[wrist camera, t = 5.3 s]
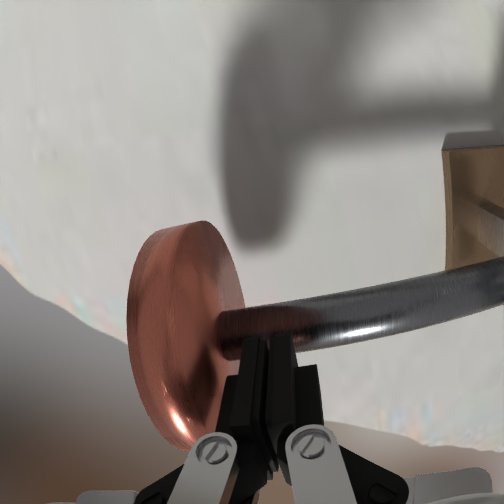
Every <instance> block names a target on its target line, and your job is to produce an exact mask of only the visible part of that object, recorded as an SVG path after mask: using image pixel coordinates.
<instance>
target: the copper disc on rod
mask: <svg viewBox="0 0 504 504" xmlns="http://www.w3.org/2000/svg"><path fill="white" fill-rule="evenodd" d="M503 304H504V256H503V257H499V258H495V259H491V260H487V261H483V262H479V263H475V264H471V265H467V266H463V267H458V268H454V269H450V270H446V271H441V272H437V273H432V274H428V275H423V276H419V277H414V278H410V279H405V280H400V281H395V282H391V283H386V284H381V285H376V286H371V287H365V288H360V289H355V290H350V291H344V292H339V293H333V294H328V295H322V296H317V297H311V298H305V299H299V300H293V301H287V302H281V303H274V304H268V305H261V306H255V307H248V308H245V303H244V298H243V294H242V290H241V286H240V282H239V278H238V275H237V271H236V268H235V265H234V262H233V260H232V257H231V254H230V252H229V250H228V247H227V245H226V243H225V241H224V239H223V238H222V236H221V234H220V233H219V231H218V230H217V229H216V228H215V227H214V226H213V225H212V224H211V223H209V222H207V221H197V222H193V223H188V224H184V225H179V226H174V227H170V228H165V229H161V230H159V231H156V232H155V233H153V234H152V235H151V236H150V237H149V238H148V239H147V240H146V241H145V243H144V244H143V246H142V248H141V249H140V251H139V253H138V256H137V258H136V261H135V264H134V267H133V271H132V275H131V279H130V284H129V291H128V299H127V340H128V347H129V355H130V361H131V366H132V370H133V375H134V379H135V382H136V385H137V389H138V392H139V395H140V398H141V400H142V402H143V405H144V407H145V409H146V411H147V414H148V415H149V417H150V419H151V421H152V422H153V424H154V426H155V427H156V428H157V430H158V431H159V432H160V434H161V435H162V436H163V437H164V438H165V439H166V440H167V441H168V442H169V443H170V444H172V445H173V446H175V447H177V448H178V449H181V450H184V451H191V448H192V446H193V445H194V443H195V442H196V441H197V440H198V439H199V438H200V437H202V436H204V435H206V434H210V433H213V432H215V429H216V424H217V420H218V415H219V410H220V405H221V400H222V395H223V390H224V385H225V381H226V377H227V376H228V375H238V371H239V365H240V359H241V353H242V347H243V341H244V339H245V338H251V337H258V336H259V337H260V338H261V340H266V341H267V344H268V348H269V346H270V339H273V338H275V334H279V333H286V332H291V335H292V339H293V344H294V349H295V353H299V352H306V351H312V350H318V349H324V348H330V347H336V346H342V345H347V344H352V343H357V342H362V341H367V340H372V339H377V338H382V337H386V336H391V335H395V334H400V333H404V332H408V331H412V330H416V329H421V328H425V327H428V326H432V325H436V324H440V323H444V322H447V321H451V320H454V319H458V318H462V317H465V316H468V315H472V314H475V313H478V312H482V311H485V310H488V309H491V308H494V307H497V306H500V305H503Z"/></svg>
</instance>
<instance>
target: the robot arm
mask: <svg viewBox="0 0 504 504" xmlns="http://www.w3.org/2000/svg"><path fill="white" fill-rule="evenodd" d="M279 465H280V467H281V470H282V473H283V475H284V477H285V480H286V482H287V483H288V484H289V485H291V486H292V489H293V494H294V500H295V504H504V494H499V493H493V490H492V480H491V477H490V474H489V473H488V472H487V471H486V470H484V469H482V468H479V467H472V468H466V469H460V470H453V471H446V472H438V473H429V474H418V475H415V477H410V478H402V477H400V476H399V475H397V474H395V473H392V472H390V471H388V470H386V469H384V468H382V467H380V466H378V465H376V464H374V463H372V462H370V461H368V460H366V459H364V458H363V457H361V456H359V455H357V454H355V453H353V452H351V451H349V450H347V449H346V448H344V447H342V446H340V445H338V442H337V439H336V436H335V435H334V433H333V432H332V431H331V430H330V429H329V428H327V427H325V426H324V420H323V410H322V400H321V392H320V384H319V377H318V370H317V364H315V365H308V366H302V367H298V363H297V359H296V354H295V349H294V344H293V339H292V335H291V332H286V333H279V334H275V338H273V339H270V346H269V348H268V344H267V341H266V340H261V338H260V337H259V336H258V337H251V338H245V339H244V341H243V347H242V353H241V359H240V365H239V371H238V375H228V376H227V377H226V381H225V385H224V390H223V395H222V400H221V405H220V410H219V415H218V420H217V424H216V429H215V432H213V433H210V434H206V435H204V436H202V437H200V438H199V439H198V440H197V441H196V442H195V443H194V445H193V446H192V448H191V451H190V453H189V455H188V458H187V460H186V462H185V464H183V465H182V466H180V467H179V468H177V469H176V470H174V471H172V472H171V473H169V474H168V475H166V476H164V477H163V478H161V479H159V480H158V481H156V482H155V483H153V484H151V485H149V486H148V487H146V488H145V489H143V490H142V491H140V492H136V491H134V490H122V491H87V492H84V493H82V494H81V495H80V496H79V497H78V498H77V501H76V503H67V502H62V503H61V502H57V503H49V504H258V500H259V496H260V488H262V487H263V486H264V485H266V483H267V480H272V479H273V472H276V471H278V468H279Z"/></svg>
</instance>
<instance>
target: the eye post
mask: <svg viewBox="0 0 504 504" xmlns="http://www.w3.org/2000/svg"><path fill="white" fill-rule="evenodd" d="M442 159H443V171H444V184H445V203H446V266H445V271H446V270H450V269H454V268H458V267H463V266H467V265H471V264H475V263H479V262H483V261H487V260H491V259H495V258H499V257H503V256H504V145H498V146H483V147H470V148H459V149H448V150H442ZM503 305H504V304H503Z"/></svg>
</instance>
